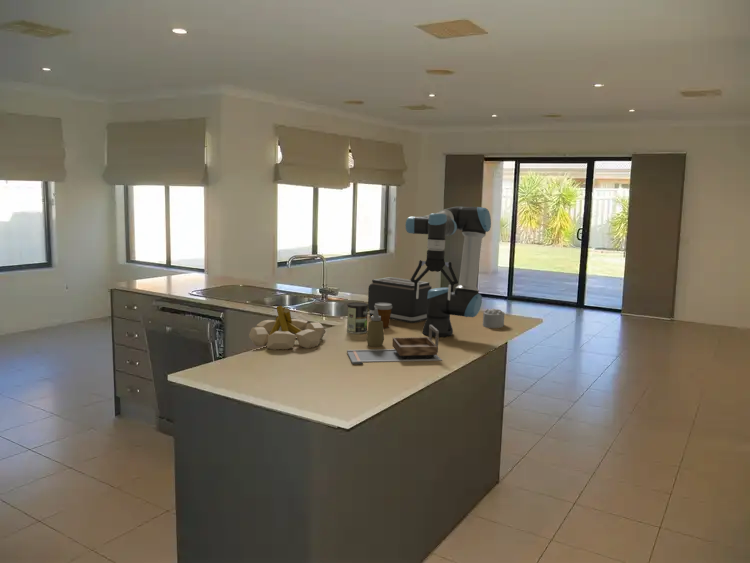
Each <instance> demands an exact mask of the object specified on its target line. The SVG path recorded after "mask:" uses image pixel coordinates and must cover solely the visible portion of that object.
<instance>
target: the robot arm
mask: <svg viewBox="0 0 750 563" xmlns="http://www.w3.org/2000/svg"><path fill="white" fill-rule="evenodd" d="M491 227H492V218H491V213H490V211H489V209H487V208H486V207H480V206H453V207H449V208H444V209H440V210H439V211H438V212H435V213H429V214H427V215H421V216H409V217H407V218H406V221H405V230H406V232H407V233H408V234H413V235H427V242H426V243H427V245H426V247H427V251H426V259H425V260H420V259H419V261H418V265H417V267H416V268H415V271H414V272H413V274H412V275H411V277H410V279H409V280H411V282H414V290H415V291H417V292H416V299H418V295H419V283H418V282H419V281H421V280H422V278H423V277H424V276H425V275H426V274H427V273H428V272H436V273H439V272H441V273H442V275H443V276H444V277H445V278H446V280H447V281H448V282H449V284H448V286H447V287H435V288H432V289H430V290H429V291H428V297H427V318H426V320H424V323H423V324H424V325H423V327H422V334H423V335H425V336H428V337H429V325H433V326H434V327H435V328H436V329H437V330H438V331H439V337H438V338H442V337H443V338H446V337H451V336H452V335H454V334H453V333H454V330H453V326H452V323H451V316H456V317H464V318H474V317H477V315H478V314H479V312H480V310H481V307H482V301H483V300H482V299H483V297H482V294H480V293H479V291H480V290H479V289H478V287H477V283H478V275H479V267H480V258H481V252H482V251H481V250H482V241H483V238H485V237H486V236H487V233H488V232H490V231H491ZM456 231H461V234H462V236H463V237H464V238H463V246H462V254H461V263H460V271H459V279H457V276H456V274H455V271H454V269H453V267H452V262H451V261H445V256H446V255H445V253H446V252H445V249H446V236H447V237H450V236H452V235H454V234H455V233H456ZM423 266H426V268H425V269H424V270H423V271H422V272H421V273H420V274H419V275H418V273H419V272H420V270H421V268H422V267H423ZM445 266H446V267H447V268H448V270H449V272H450V275H451V278H452V279H451V278H450V276H449V275H448V274H447V272H446V271H445V269H444V267H445ZM417 275H418V277H417ZM452 280H453V281H452ZM455 285H457V286H455ZM454 286H455V287H454ZM432 337H435V338H436V333H435V332H434V331H433V330H432Z"/></svg>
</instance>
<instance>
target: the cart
mask: <svg viewBox="0 0 750 563" xmlns="http://www.w3.org/2000/svg"><path fill="white" fill-rule="evenodd" d="M432 330H433V331H434V332H435V333H436V337H435V341H432V337H433V336H432ZM439 338H440V337H439V331H438V330H437V329H436V328H435V327H434V326H433V325H429V336H428V337H427V336H425V337H421V336H420V337H419V336H418V337H416V336H415V337H392V347H393V349H395V350H396V351H397V353H398V354H399V355H400V356H402V358H403V359H407V357H408V355H427V357H428V358H429V359H431V358H432V357H433V355H437V356H438V353H439ZM434 342H435V343H434Z"/></svg>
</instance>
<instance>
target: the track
mask: <svg viewBox="0 0 750 563" xmlns="http://www.w3.org/2000/svg"><path fill="white" fill-rule="evenodd" d="M347 353H348V354H347ZM346 354H347V356H348V358H349V361H350V360H351V361H350V363H351V362H352V363H351V365H352V364H363V365H364V363H390V362H392V363H393V362H395V363H396V362H400V363H401V362H429V361H430V362H432V361H433V362H434V361H435V362H437V361H440V362H442V361H443V359H442V358H440V356H439V355H438V354H437V355H433V357H432V358H431V359H429V358H428V357H427V355H408V357H407V359H403V358H402V356H400V355H399V354H398V353H397V351H396V350H395V349H394V348H389V349H388V348H385V349H384V348H383V349H382V348H381V349H377V348H376V349H347V350H346Z"/></svg>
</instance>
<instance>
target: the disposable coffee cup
mask: <svg viewBox="0 0 750 563" xmlns="http://www.w3.org/2000/svg"><path fill="white" fill-rule="evenodd" d="M374 307H375V308H377V309H378V315H379V316H381V320H380V321H382V322H383V329H387V328H389V327H390V320H391V319H390V315H391V309H392V304H390V303H376V304H375V306H374Z"/></svg>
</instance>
